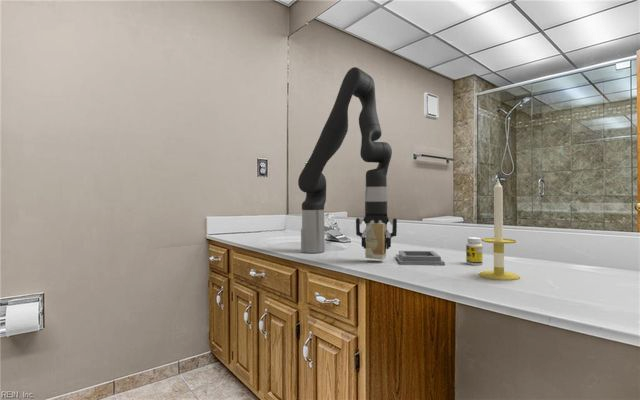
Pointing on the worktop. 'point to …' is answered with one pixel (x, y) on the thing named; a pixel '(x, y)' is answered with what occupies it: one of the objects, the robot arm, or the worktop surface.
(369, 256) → the skincare box
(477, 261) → the supplement bottle
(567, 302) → the worktop surface
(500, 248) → the candle
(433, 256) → the gray square tray
